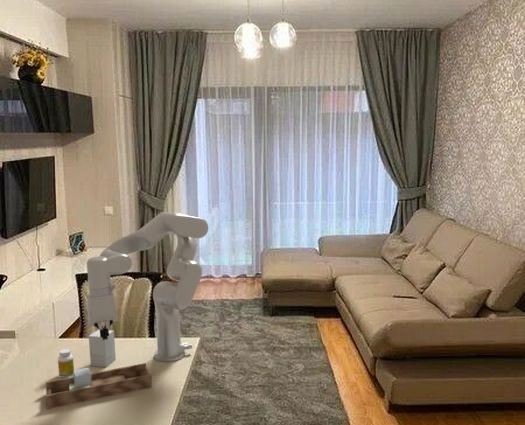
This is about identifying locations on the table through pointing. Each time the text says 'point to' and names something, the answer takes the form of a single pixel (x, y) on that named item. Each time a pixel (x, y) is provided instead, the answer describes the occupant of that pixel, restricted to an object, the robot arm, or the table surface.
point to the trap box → (98, 385)
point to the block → (82, 378)
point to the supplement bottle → (65, 363)
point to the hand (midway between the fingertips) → (104, 338)
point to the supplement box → (102, 349)
